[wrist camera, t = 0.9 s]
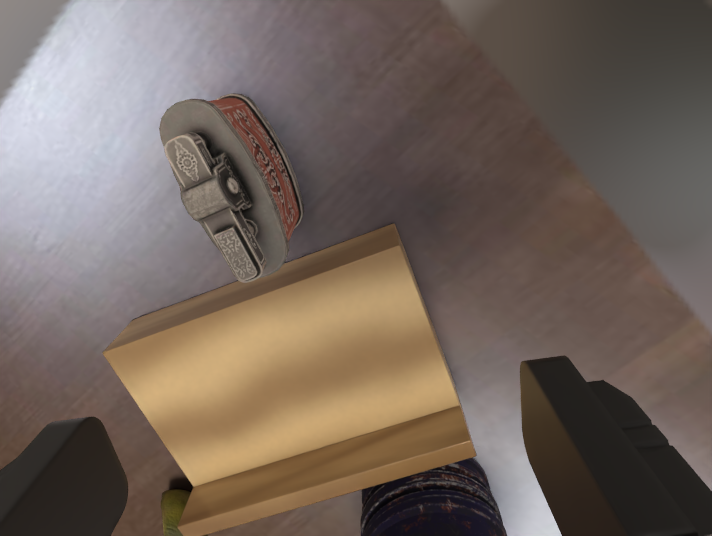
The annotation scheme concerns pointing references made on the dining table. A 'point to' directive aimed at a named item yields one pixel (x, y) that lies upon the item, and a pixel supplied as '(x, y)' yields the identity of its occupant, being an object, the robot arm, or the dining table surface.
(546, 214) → the dining table surface
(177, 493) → the lime
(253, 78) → the dining table surface
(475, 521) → the dark blue cylinder
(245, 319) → the shelf
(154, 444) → the dining table surface
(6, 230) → the dining table surface
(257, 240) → the lighter
